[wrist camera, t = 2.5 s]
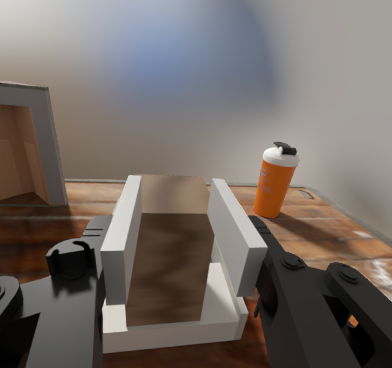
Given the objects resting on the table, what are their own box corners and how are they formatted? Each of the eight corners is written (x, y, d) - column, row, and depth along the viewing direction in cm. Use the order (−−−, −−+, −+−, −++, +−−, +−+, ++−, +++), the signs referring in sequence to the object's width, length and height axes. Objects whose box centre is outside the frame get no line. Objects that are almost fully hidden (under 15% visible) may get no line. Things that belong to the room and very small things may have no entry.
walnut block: (126, 326, 25) (119, 212, 18) (135, 268, 33) (132, 174, 26) (200, 320, 26) (218, 213, 20) (191, 265, 34) (202, 176, 28)
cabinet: (-31, 206, 50) (-83, 74, 38) (-2, 188, 58) (-38, 76, 47) (65, 207, 53) (44, 87, 42) (79, 190, 62) (64, 86, 50)
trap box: (74, 356, 25) (65, 319, 22) (120, 216, 52) (118, 191, 49) (240, 339, 29) (251, 305, 26) (202, 216, 56) (205, 193, 53)
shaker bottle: (270, 203, 67) (288, 141, 58) (287, 219, 59) (310, 150, 51) (245, 204, 64) (260, 140, 56) (259, 220, 57) (278, 149, 48)
